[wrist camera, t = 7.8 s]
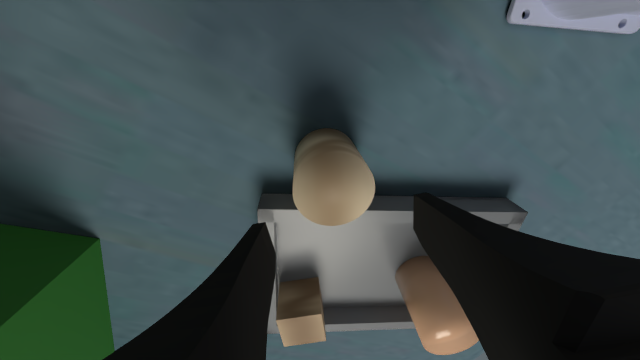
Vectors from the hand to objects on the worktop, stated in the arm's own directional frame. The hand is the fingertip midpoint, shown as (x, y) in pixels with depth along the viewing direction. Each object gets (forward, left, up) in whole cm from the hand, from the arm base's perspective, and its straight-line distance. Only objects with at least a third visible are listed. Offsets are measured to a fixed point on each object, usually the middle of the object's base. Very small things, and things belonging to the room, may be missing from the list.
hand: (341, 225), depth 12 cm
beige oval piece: (0, 0, -9) cm, 9 cm away
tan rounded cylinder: (-11, +12, -8) cm, 18 cm away
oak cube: (+1, +15, -8) cm, 17 cm away
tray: (-6, +11, -9) cm, 15 cm away
